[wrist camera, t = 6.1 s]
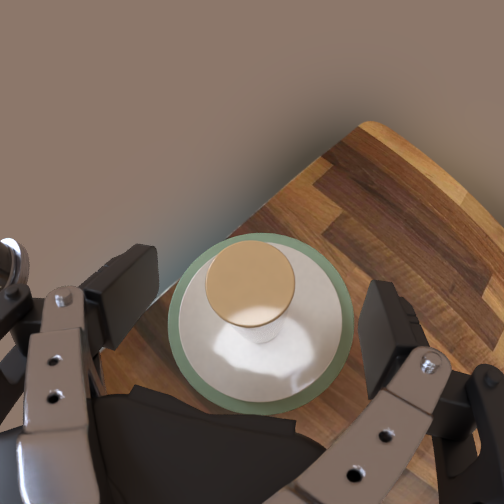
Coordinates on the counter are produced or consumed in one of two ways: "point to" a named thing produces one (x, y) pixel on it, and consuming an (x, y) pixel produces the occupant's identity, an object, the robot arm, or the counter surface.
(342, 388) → the counter surface
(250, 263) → the lid
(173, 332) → the cylinder
